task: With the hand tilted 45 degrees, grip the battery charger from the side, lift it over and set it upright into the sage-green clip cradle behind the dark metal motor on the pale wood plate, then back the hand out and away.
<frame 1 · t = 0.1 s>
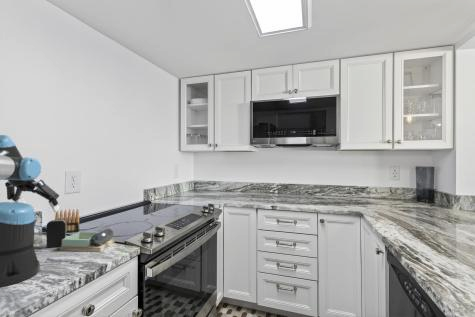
hand: (41, 209, 107), 15 cm above the worktop, tool tilted 35°, fingers open, 13 cm apart
battery charger: (56, 246, 105), on the worktop
ammunition clip: (66, 233, 124), on the worktop
motor mount: (89, 245, 106), on the worktop
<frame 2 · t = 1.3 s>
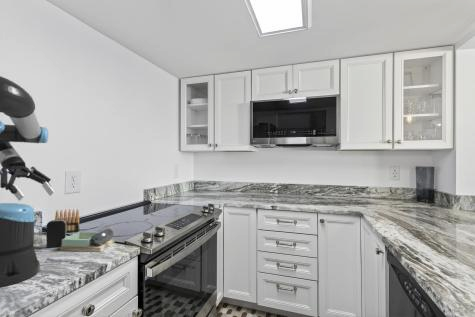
hand: (37, 195, 107), 21 cm above the worktop, tool tilted 45°, fingers open, 13 cm apart
nothing on the worktop moved.
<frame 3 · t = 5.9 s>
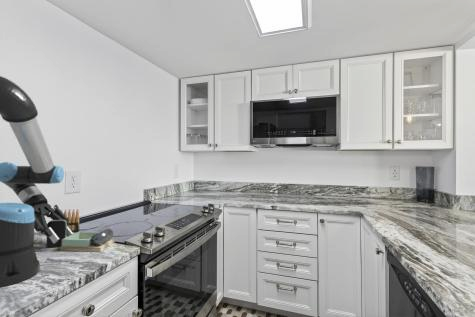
hand: (63, 238, 104), 4 cm above the worktop, tool tilted 45°, fingers closed on battery charger, 6 cm apart
battery charger: (56, 246, 105), on the worktop, touching gripper
everything else where it was.
when the fingers open (7 cm above the worktop, at t = 9.7 s): battery charger drops 1 cm, resting on motor mount.
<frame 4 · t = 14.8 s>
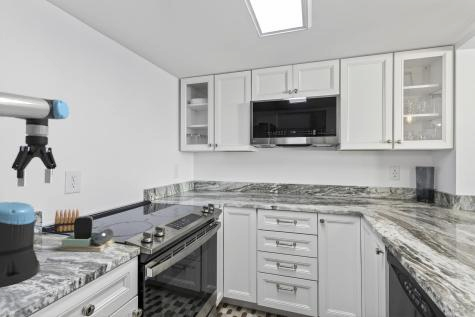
hand: (35, 184, 104), 27 cm above the worktop, tool pointing down, fingers open, 13 cm apart
battery charger: (83, 242, 106), point 1 cm above the worktop, touching motor mount
everything else where it was.
at the end: battery charger 0.2 cm from the target spot on the motor mount, point 1.3 cm above the motor mount's base; battery charger tilted 0°; the gripper is holding nothing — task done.
